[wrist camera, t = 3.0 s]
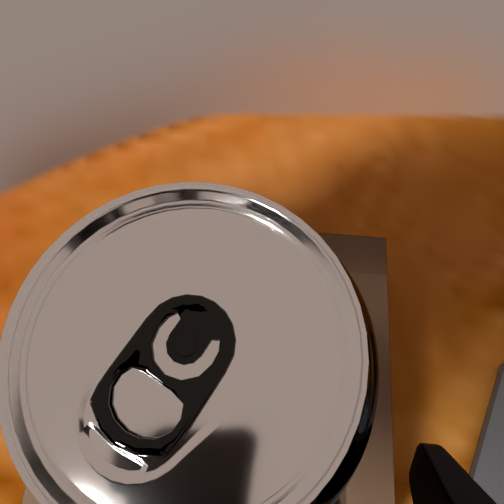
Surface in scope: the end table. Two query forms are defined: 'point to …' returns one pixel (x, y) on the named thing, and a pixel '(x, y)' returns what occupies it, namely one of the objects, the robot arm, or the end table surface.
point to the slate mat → (492, 445)
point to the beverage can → (188, 357)
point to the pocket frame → (381, 439)
